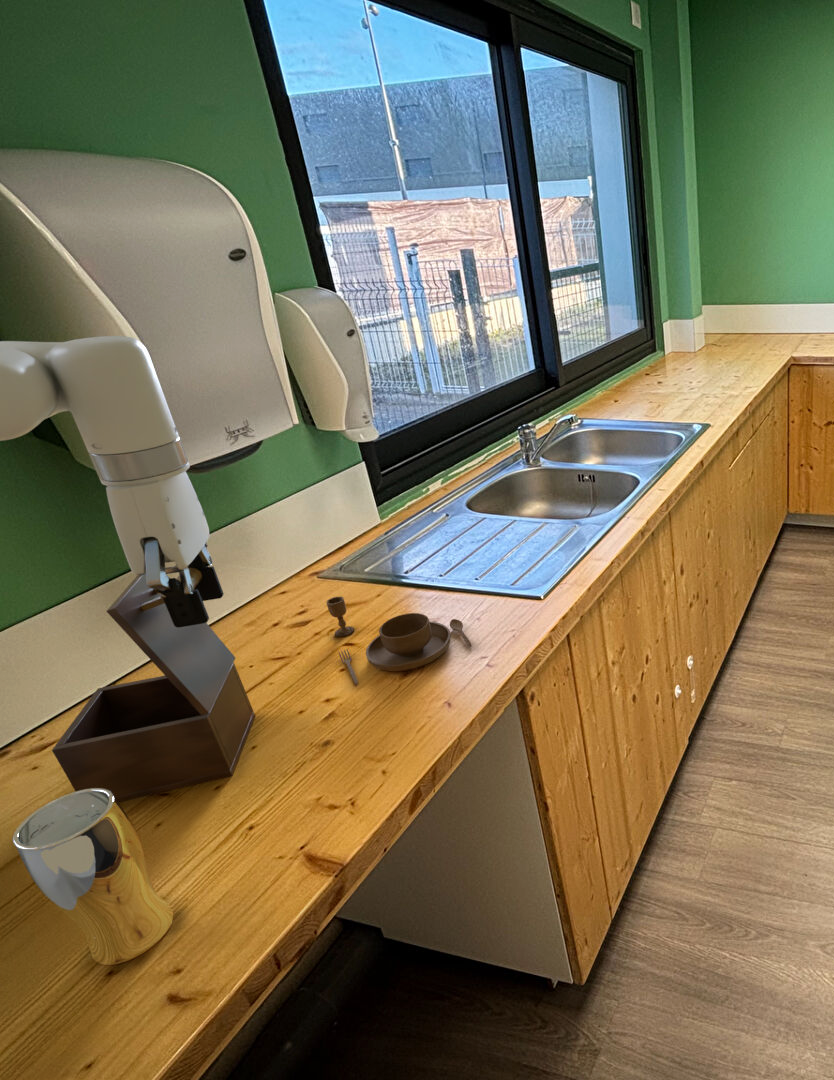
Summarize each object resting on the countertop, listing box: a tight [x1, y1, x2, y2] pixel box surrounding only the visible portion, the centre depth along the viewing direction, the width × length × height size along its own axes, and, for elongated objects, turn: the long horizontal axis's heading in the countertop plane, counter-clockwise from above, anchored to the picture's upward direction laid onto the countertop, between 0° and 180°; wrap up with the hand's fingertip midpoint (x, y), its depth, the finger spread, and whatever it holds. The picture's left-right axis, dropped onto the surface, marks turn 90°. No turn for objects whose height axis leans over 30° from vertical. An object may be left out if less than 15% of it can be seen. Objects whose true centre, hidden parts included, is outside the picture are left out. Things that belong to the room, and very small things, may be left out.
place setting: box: [325, 596, 473, 686], centre depth 108 cm, size 18×20×6 cm
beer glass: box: [12, 788, 174, 966], centre depth 62 cm, size 7×7×15 cm
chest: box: [51, 661, 256, 803], centre depth 84 cm, size 15×12×9 cm
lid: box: [106, 568, 236, 716], centre depth 81 cm, size 15×12×6 cm
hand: (200, 609), depth 80 cm, fingers closed on lid, 5 cm apart
